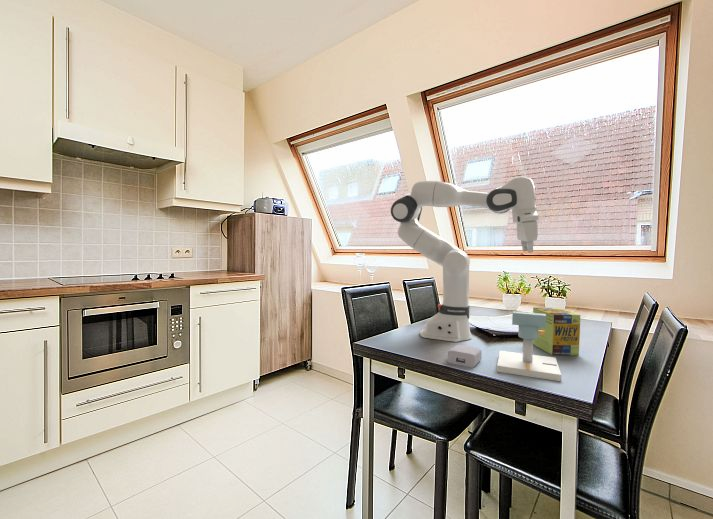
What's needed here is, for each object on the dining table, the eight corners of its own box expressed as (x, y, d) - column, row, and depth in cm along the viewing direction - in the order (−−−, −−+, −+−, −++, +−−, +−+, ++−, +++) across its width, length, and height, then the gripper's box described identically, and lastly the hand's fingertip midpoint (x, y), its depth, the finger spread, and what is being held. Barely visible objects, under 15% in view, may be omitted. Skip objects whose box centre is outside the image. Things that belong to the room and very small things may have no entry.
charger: (485, 356, 128) (474, 368, 115) (460, 352, 133) (447, 363, 120) (485, 344, 127) (474, 354, 115) (460, 340, 132) (447, 349, 120)
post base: (497, 371, 112) (497, 341, 112) (499, 355, 128) (500, 329, 128) (561, 381, 104) (562, 348, 104) (555, 363, 121) (556, 335, 120)
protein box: (552, 355, 130) (553, 314, 129) (531, 343, 145) (532, 307, 145) (580, 355, 130) (581, 314, 129) (556, 344, 145) (557, 307, 145)
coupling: (511, 337, 115) (512, 313, 115) (512, 333, 121) (512, 310, 120) (545, 341, 111) (546, 316, 111) (544, 336, 116) (545, 313, 116)
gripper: (511, 219, 149) (514, 250, 150) (521, 217, 129) (524, 254, 130) (527, 217, 147) (530, 249, 148) (539, 215, 127) (542, 252, 128)
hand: (527, 251), depth 139 cm, fingers open, 8 cm apart
